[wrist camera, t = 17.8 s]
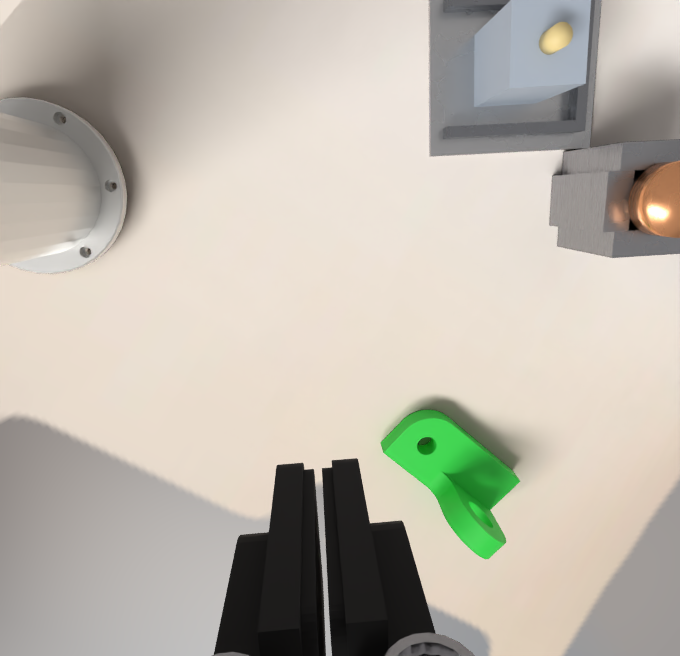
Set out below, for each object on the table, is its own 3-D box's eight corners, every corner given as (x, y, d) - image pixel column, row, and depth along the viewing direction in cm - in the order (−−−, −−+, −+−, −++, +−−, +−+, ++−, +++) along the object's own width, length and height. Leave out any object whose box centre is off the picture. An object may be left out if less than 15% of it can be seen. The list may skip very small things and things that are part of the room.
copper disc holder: (548, 246, 41) (600, 258, 34) (553, 152, 39) (611, 142, 32) (634, 241, 42) (705, 251, 34) (644, 147, 40) (722, 136, 32)
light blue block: (473, 107, 38) (519, 83, 30) (474, 35, 36) (522, -11, 28) (536, 103, 38) (599, 78, 30) (539, 31, 37) (605, -16, 29)
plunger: (574, 230, 40) (643, 240, 31) (579, 168, 38) (652, 161, 30) (631, 227, 40) (715, 235, 32) (638, 165, 39) (727, 158, 30)
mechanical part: (511, 469, 47) (551, 522, 40) (468, 510, 48) (498, 571, 41) (424, 396, 45) (447, 438, 37) (380, 441, 46) (394, 492, 38)
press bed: (429, 156, 39) (434, 154, 37) (428, -16, 36) (434, -26, 34) (587, 148, 39) (598, 146, 38) (601, -23, 36) (614, -32, 35)
